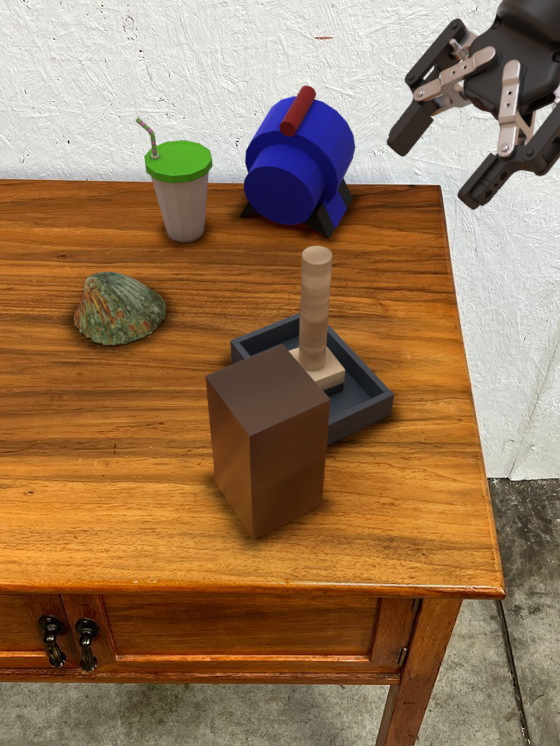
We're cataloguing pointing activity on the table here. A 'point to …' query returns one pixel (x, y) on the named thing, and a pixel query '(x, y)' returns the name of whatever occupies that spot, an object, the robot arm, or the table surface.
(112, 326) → the seashell
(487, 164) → the robot arm
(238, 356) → the tray
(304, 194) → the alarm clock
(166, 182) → the cup
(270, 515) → the stand
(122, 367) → the table surface
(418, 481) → the table surface
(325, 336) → the wooden peg on base
